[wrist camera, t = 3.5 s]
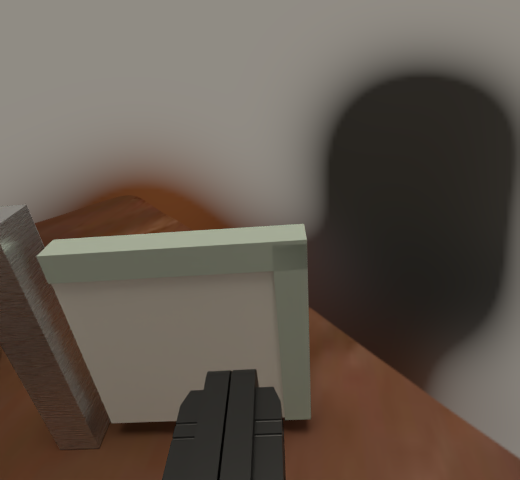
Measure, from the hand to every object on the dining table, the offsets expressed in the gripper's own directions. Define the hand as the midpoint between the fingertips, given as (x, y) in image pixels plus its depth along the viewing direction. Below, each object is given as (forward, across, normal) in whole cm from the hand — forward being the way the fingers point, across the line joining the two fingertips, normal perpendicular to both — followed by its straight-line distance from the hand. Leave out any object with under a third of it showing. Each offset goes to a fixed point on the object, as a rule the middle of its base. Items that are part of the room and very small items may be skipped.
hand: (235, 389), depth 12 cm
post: (+8, +12, +13) cm, 19 cm away
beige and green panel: (+8, +4, +11) cm, 14 cm away
